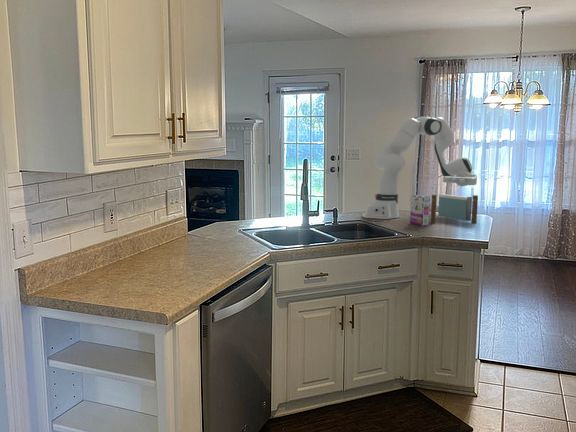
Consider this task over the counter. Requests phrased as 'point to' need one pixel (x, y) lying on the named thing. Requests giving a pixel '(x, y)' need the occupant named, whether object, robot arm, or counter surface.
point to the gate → (455, 207)
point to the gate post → (474, 209)
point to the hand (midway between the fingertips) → (456, 180)
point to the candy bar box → (420, 210)
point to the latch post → (433, 209)
